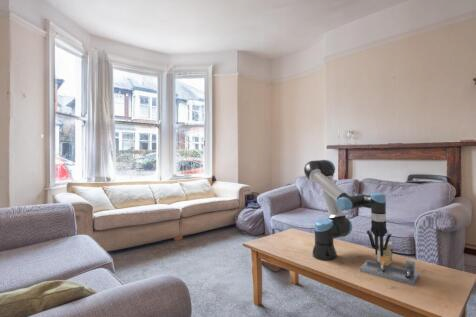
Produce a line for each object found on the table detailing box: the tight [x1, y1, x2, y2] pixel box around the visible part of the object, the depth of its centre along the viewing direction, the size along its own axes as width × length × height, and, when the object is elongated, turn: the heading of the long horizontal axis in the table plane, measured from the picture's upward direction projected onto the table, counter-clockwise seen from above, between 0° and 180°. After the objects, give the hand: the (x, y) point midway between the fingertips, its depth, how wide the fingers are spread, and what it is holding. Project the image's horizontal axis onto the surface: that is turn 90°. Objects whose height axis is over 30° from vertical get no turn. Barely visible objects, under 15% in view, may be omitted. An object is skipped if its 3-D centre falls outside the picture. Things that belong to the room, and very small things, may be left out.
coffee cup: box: [378, 239, 394, 265], centre depth 162 cm, size 9×9×12 cm
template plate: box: [359, 259, 419, 286], centre depth 147 cm, size 26×13×8 cm, turn 48°
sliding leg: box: [380, 255, 391, 270], centre depth 149 cm, size 4×8×6 cm, turn 138°
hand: (379, 260), depth 152 cm, fingers closed
